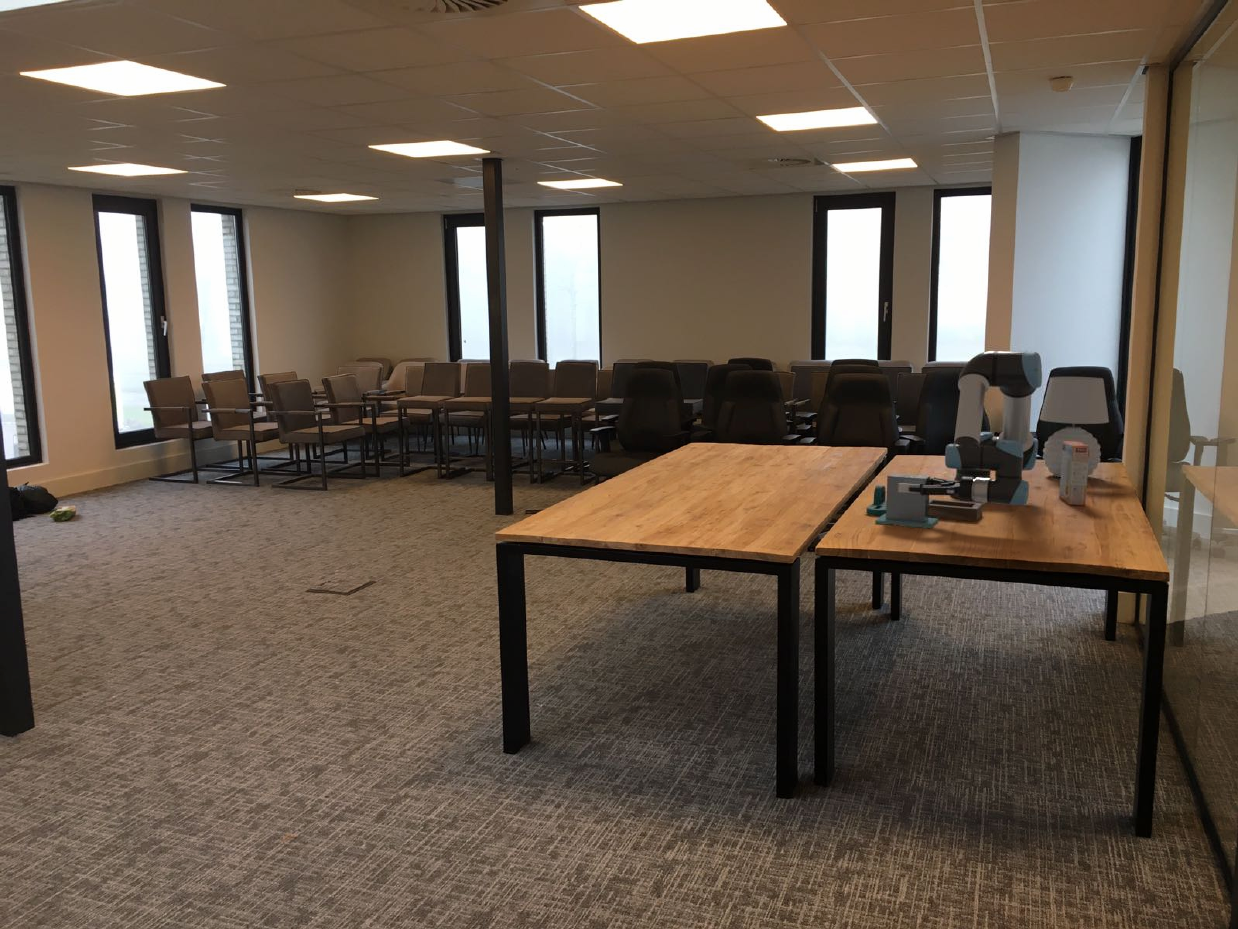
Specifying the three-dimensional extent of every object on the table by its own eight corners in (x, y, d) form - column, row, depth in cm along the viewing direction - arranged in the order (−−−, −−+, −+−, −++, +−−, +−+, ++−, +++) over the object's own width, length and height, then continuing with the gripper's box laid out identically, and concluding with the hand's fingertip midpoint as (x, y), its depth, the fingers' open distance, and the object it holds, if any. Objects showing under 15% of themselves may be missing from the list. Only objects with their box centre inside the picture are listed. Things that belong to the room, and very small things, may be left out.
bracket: (878, 506, 344) (879, 483, 343) (898, 508, 341) (899, 485, 340) (863, 515, 329) (864, 492, 327) (884, 517, 325) (885, 493, 324)
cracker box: (1086, 506, 342) (1090, 445, 339) (1067, 505, 344) (1071, 445, 341) (1076, 498, 356) (1080, 440, 353) (1058, 498, 357) (1062, 440, 354)
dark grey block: (890, 516, 321) (891, 473, 319) (928, 519, 316) (930, 476, 314) (885, 519, 316) (887, 475, 314) (924, 523, 311) (926, 478, 308)
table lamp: (1109, 483, 387) (1116, 380, 381) (1039, 480, 395) (1045, 379, 389) (1099, 473, 411) (1106, 376, 405) (1033, 471, 419) (1039, 375, 413)
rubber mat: (884, 516, 325) (884, 513, 325) (937, 521, 317) (938, 518, 317) (875, 523, 315) (875, 520, 315) (930, 528, 307) (930, 525, 307)
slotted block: (927, 510, 336) (928, 498, 335) (982, 515, 327) (982, 503, 327) (920, 516, 326) (920, 504, 325) (976, 521, 317) (977, 509, 317)
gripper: (966, 508, 295) (894, 502, 305) (979, 495, 316) (911, 489, 326) (967, 483, 294) (894, 478, 304) (981, 471, 315) (912, 467, 325)
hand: (903, 484), depth 315 cm, fingers open, 13 cm apart
